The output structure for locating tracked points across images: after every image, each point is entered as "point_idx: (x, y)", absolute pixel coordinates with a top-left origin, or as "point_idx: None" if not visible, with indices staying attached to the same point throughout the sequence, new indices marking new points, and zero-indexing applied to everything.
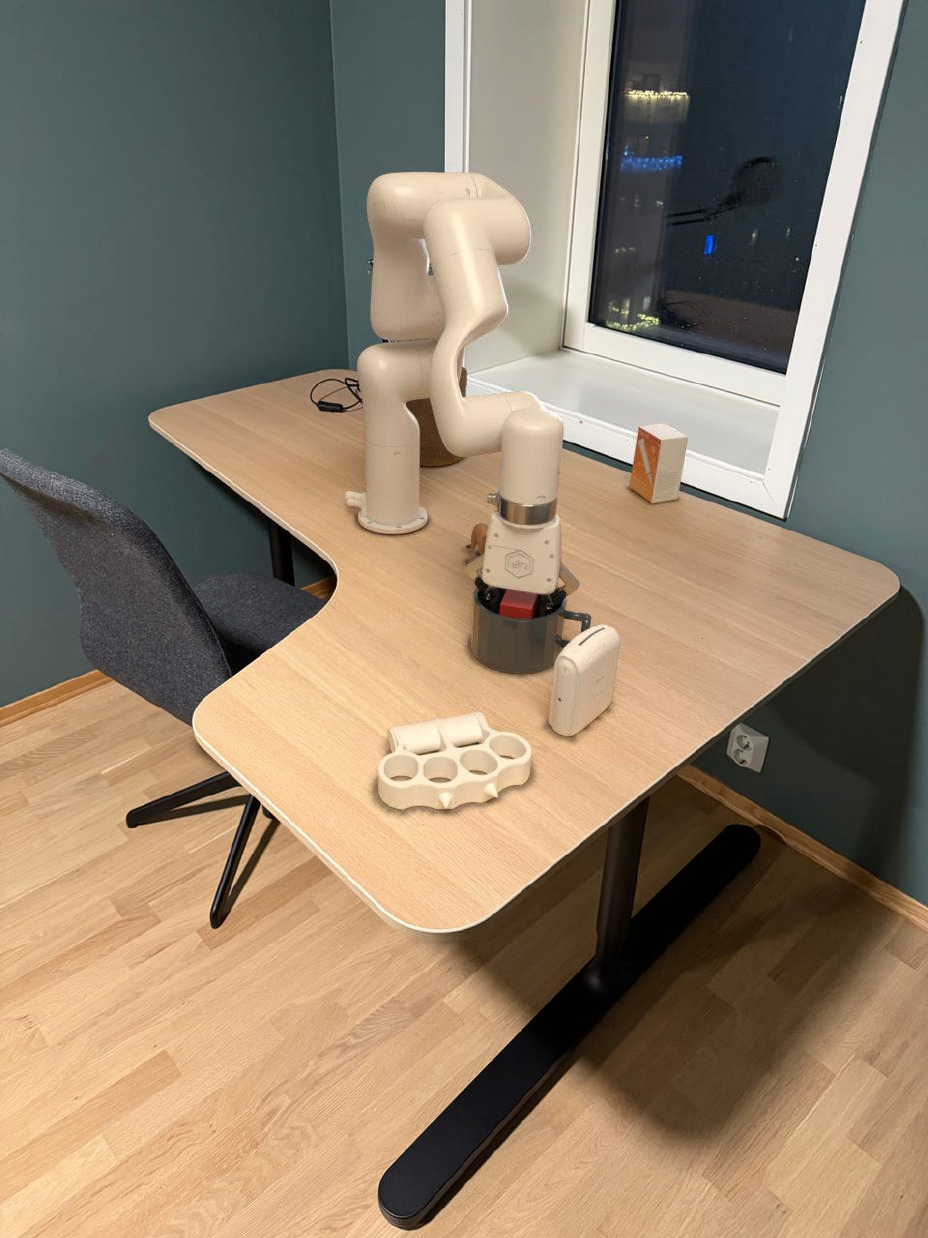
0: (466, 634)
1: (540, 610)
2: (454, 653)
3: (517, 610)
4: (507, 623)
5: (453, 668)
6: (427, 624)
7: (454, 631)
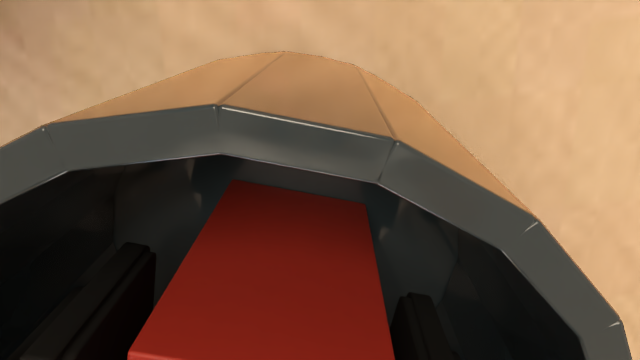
0: None
1: (71, 358)
2: (543, 183)
3: (256, 347)
4: (338, 118)
5: (563, 68)
6: None
7: None
